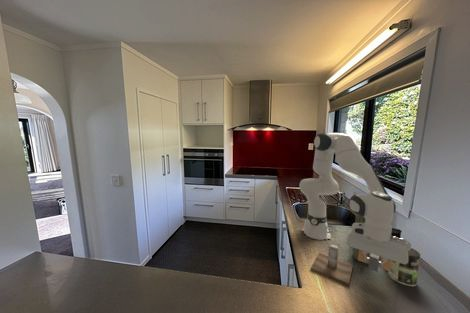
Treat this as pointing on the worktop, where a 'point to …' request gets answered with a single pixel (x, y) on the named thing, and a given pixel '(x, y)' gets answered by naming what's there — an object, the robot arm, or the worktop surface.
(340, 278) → the post base
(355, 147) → the robot arm
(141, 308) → the worktop surface
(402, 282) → the coffee can
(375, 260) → the collar
